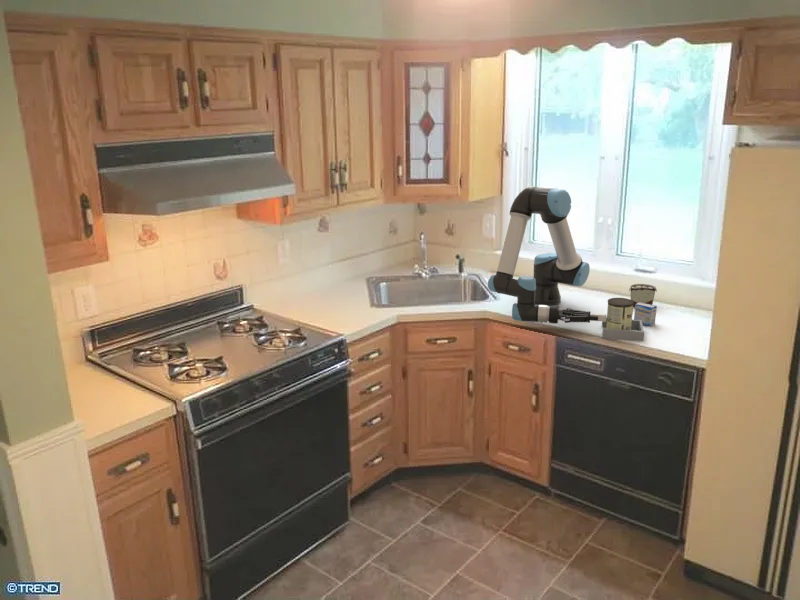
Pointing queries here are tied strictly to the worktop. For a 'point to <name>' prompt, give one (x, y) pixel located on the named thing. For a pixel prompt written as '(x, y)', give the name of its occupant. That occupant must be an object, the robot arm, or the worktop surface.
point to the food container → (642, 293)
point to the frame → (625, 332)
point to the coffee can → (619, 314)
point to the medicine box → (645, 313)
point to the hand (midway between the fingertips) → (606, 318)
